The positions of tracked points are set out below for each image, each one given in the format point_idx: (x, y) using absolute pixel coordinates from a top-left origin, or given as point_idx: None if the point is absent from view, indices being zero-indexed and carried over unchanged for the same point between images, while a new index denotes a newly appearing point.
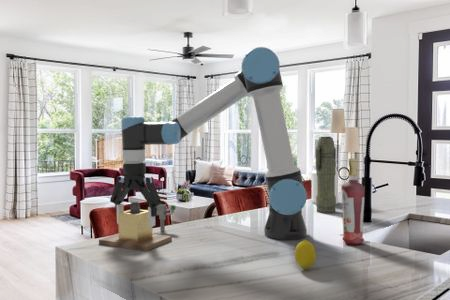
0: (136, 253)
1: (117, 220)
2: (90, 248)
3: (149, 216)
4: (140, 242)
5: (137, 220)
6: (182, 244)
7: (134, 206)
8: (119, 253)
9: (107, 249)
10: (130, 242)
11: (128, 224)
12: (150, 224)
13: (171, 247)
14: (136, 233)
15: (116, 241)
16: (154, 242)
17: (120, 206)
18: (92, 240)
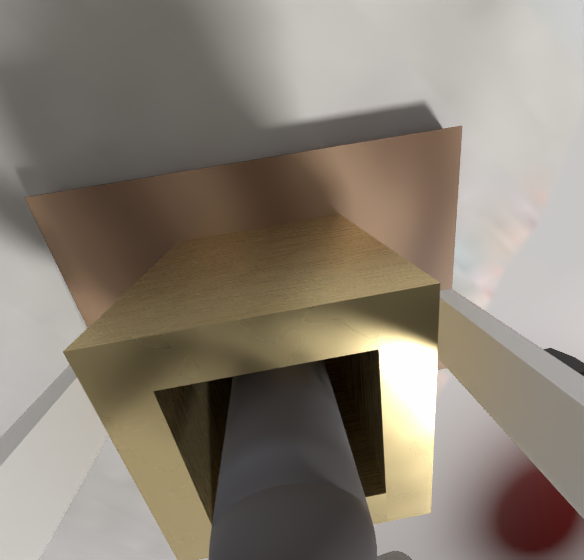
0: (42, 114)
1: (461, 301)
2: (419, 5)
3: (13, 435)
4: (151, 243)
5: (111, 313)
6: (36, 394)
7: (232, 509)
8: (132, 37)
9: (291, 64)
10: (207, 205)
11: (249, 265)
12: (64, 372)
13: (20, 329)
14: (171, 257)
15: (309, 165)
16: (81, 293)
17: (572, 446)
18: (541, 167)
